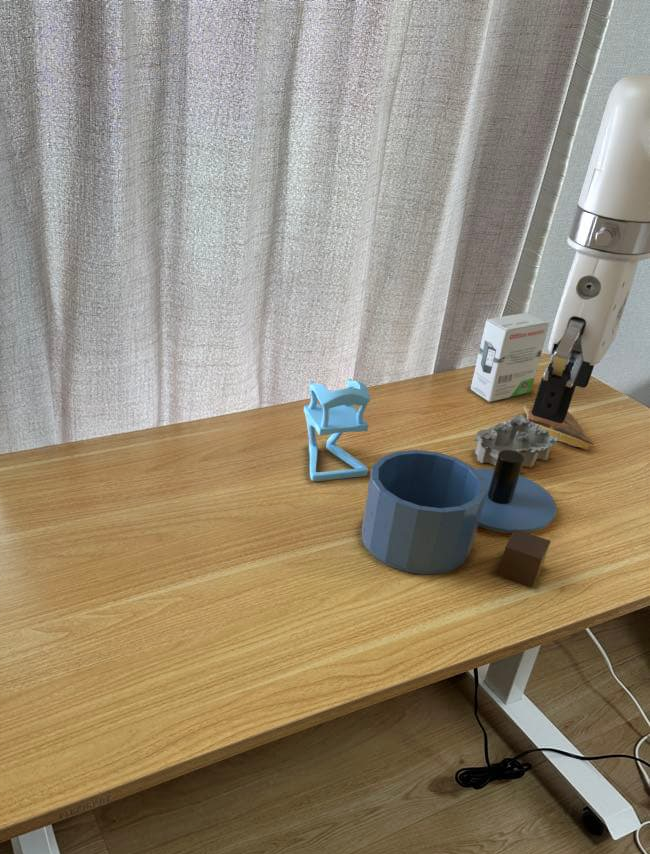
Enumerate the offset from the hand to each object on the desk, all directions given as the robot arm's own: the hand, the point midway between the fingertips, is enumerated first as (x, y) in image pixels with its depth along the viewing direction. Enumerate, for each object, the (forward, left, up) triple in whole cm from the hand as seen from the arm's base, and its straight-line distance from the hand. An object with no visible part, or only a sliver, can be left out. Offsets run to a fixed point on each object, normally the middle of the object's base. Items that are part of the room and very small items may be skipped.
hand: (559, 400), depth 84 cm
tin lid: (+4, -7, -18) cm, 19 cm away
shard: (+2, -32, -19) cm, 37 cm away
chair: (+26, -4, -19) cm, 32 cm away
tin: (+10, +6, -19) cm, 22 cm away
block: (-2, +5, -19) cm, 19 cm away
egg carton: (+6, -20, -19) cm, 28 cm away
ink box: (+13, -39, -19) cm, 45 cm away
